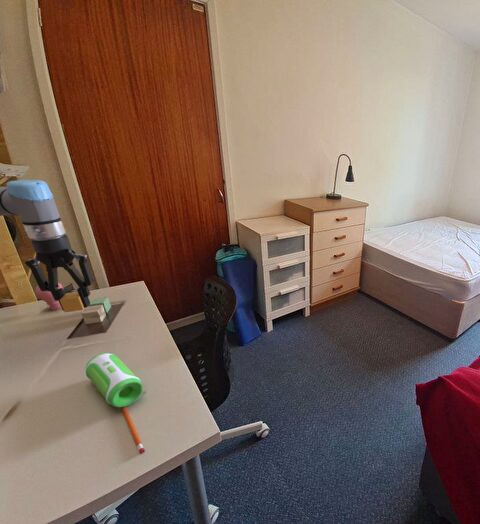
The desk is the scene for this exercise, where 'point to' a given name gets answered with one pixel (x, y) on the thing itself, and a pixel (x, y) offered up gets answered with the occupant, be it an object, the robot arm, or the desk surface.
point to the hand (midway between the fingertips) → (76, 306)
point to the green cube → (101, 303)
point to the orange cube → (71, 302)
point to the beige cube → (93, 314)
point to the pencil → (132, 430)
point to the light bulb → (48, 298)
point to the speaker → (114, 380)
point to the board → (96, 324)
